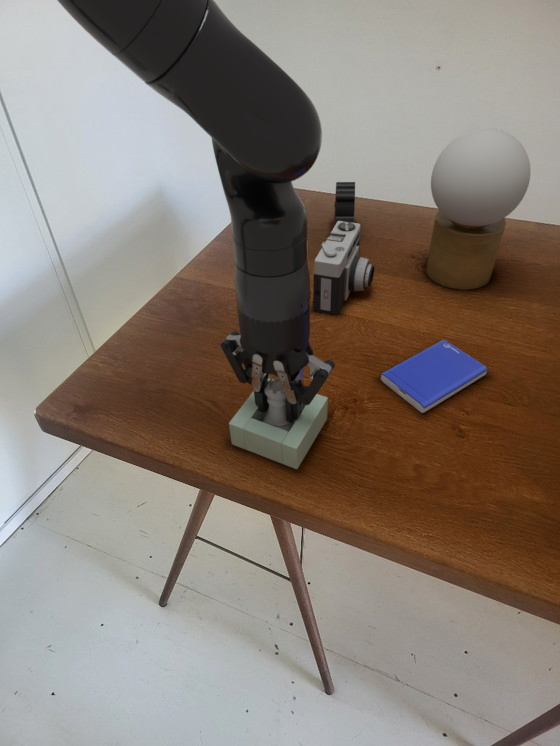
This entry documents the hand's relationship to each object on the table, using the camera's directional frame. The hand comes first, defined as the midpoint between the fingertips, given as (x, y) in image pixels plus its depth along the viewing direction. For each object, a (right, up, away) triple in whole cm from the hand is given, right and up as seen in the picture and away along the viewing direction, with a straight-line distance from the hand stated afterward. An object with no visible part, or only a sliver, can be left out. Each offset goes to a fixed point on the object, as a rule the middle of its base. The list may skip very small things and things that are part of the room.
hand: (279, 412), depth 64 cm
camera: (+12, +19, +25) cm, 34 cm away
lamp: (+31, +21, +27) cm, 47 cm away
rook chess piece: (0, -2, +2) cm, 3 cm away
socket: (0, -3, +3) cm, 4 cm away
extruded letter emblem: (+13, +32, +40) cm, 53 cm away
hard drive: (+22, +4, +9) cm, 24 cm away
